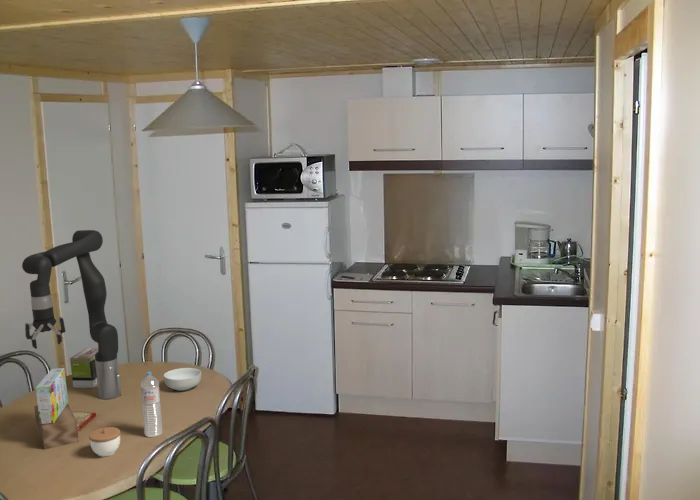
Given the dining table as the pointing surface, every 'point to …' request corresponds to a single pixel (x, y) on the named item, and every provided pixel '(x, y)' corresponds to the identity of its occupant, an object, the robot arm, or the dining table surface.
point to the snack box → (52, 396)
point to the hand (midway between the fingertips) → (47, 345)
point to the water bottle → (151, 406)
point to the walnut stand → (58, 429)
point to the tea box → (84, 368)
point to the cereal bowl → (182, 378)
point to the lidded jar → (105, 441)
